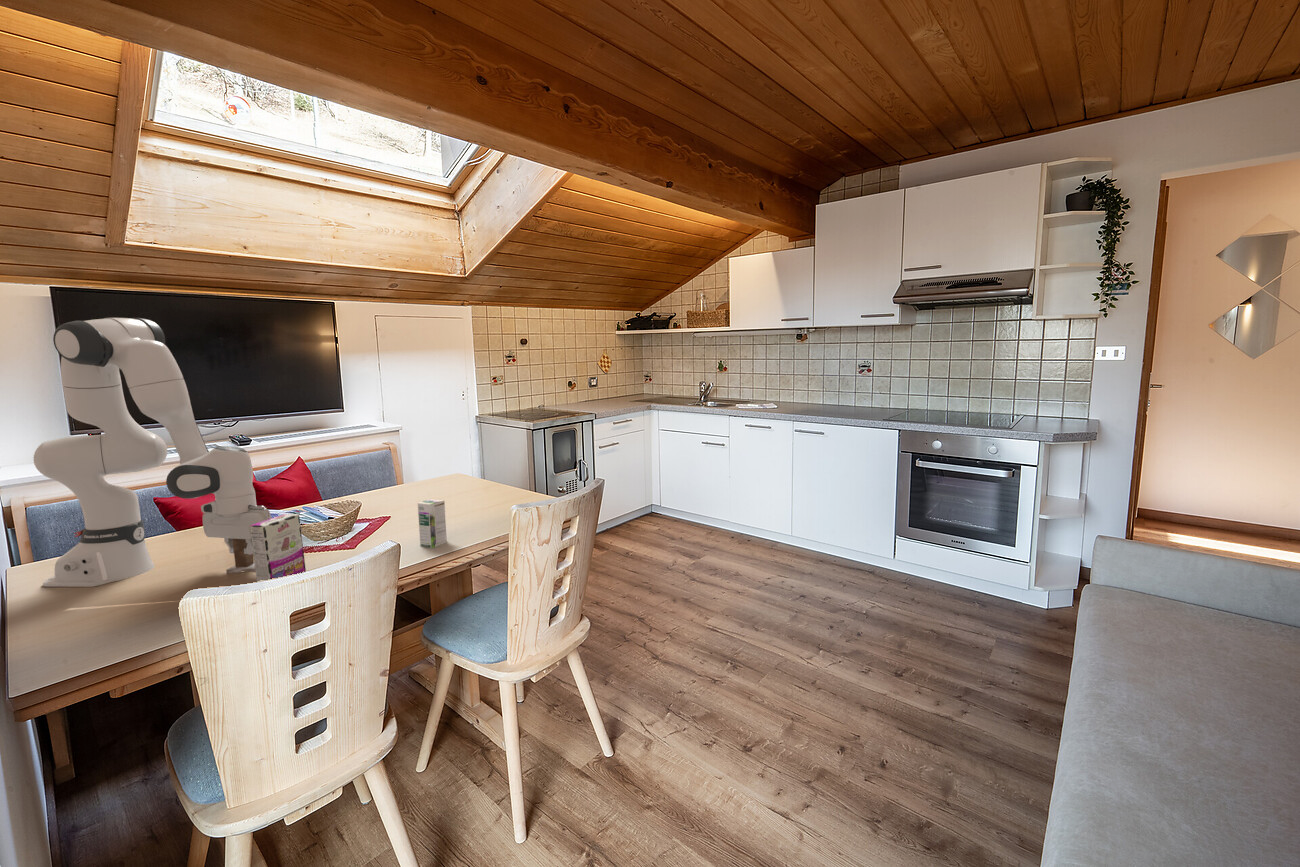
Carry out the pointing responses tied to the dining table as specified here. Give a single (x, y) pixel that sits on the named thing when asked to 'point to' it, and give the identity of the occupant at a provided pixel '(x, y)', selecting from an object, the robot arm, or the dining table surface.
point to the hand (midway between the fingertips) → (242, 553)
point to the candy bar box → (277, 547)
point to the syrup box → (432, 523)
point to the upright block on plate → (241, 557)
